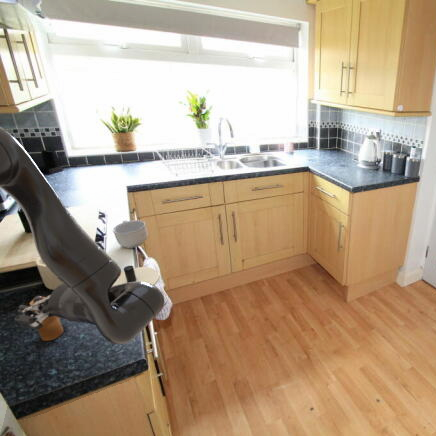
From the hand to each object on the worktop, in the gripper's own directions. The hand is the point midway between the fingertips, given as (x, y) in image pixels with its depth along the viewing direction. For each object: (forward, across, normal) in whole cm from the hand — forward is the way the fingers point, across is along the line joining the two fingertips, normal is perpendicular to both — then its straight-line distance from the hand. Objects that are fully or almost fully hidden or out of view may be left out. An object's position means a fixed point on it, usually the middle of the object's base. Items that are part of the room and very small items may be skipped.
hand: (43, 293), depth 70 cm
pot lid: (+13, -20, +19) cm, 31 cm away
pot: (+33, -15, +14) cm, 39 cm away
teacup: (+37, -38, +20) cm, 57 cm away
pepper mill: (+11, +3, +14) cm, 18 cm away
